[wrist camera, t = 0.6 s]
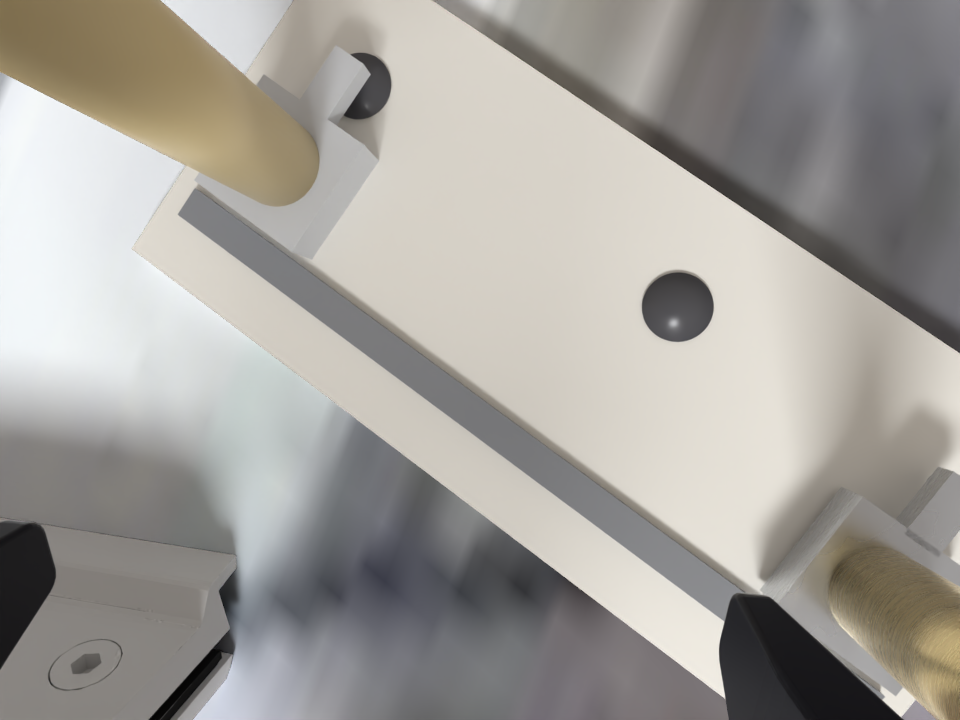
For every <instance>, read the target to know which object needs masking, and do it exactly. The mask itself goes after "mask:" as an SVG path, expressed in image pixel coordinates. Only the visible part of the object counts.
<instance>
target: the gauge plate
mask: <svg viewBox="0 0 960 720" xmlns="http://www.w3.org/2000/svg"><path fill="white" fill-rule="evenodd" d="M0 72H2V73H4V74H6V75H8V76H10V77H12V78H14V79H16V80H18V81H20V82H21V83H23V84H25V85H27V86H29V87H31V88H33V89H35V90H37V91H39V92H41V93H43V94H45V95H47V96H49V97H51V98H53V99H55V100H57V101H59V102H61V103H63V104H65V105H67V106H69V107H71V108H73V109H75V110H77V111H79V112H81V113H83V114H85V115H87V116H89V117H91V118H93V119H95V120H97V121H99V122H101V123H103V124H105V125H107V126H109V127H111V128H113V129H115V130H117V131H119V132H120V133H122V134H124V135H126V136H128V137H130V138H132V139H134V140H136V141H138V142H140V143H142V144H144V145H146V146H148V147H150V148H152V149H154V150H156V151H158V152H160V153H162V154H164V155H166V156H168V157H170V158H172V159H174V160H176V161H178V162H180V163H182V164H184V165H186V166H185V168H184V169H183V171H182V172H181V174H180V175H179V177H178V178H177V180H176V181H175V183H174V184H173V186H172V188H171V189H170V191H169V192H168V194H167V195H166V197H165V198H164V200H163V201H162V203H161V204H160V206H159V207H158V209H157V211H156V212H155V214H154V215H153V217H152V218H151V220H150V221H149V223H148V224H147V226H146V227H145V229H144V230H143V232H142V234H141V235H140V237H139V238H138V240H137V241H136V243H135V244H134V246H133V247H132V250H134V251H135V252H136V253H138V254H139V255H140V256H142V257H143V258H144V259H146V260H147V261H148V262H150V263H151V264H152V265H154V266H155V267H156V268H157V269H159V270H160V271H161V272H163V273H164V274H165V275H167V276H168V277H169V278H171V279H172V280H173V281H175V282H176V283H177V284H179V285H180V286H181V287H183V288H184V289H185V290H187V291H188V292H189V293H190V294H192V295H193V296H194V297H196V298H197V299H198V300H200V301H201V302H202V303H204V304H205V305H206V306H208V307H209V308H210V309H212V310H213V311H214V312H216V313H217V314H218V315H220V316H221V317H222V318H223V319H225V320H226V321H227V322H229V323H230V324H231V325H233V326H234V327H235V328H237V329H238V330H239V331H241V332H242V333H243V334H245V335H246V336H247V337H249V338H250V339H251V340H253V341H254V342H255V343H256V344H258V345H259V346H260V347H262V348H263V349H264V350H266V351H267V352H268V353H270V354H271V355H272V356H274V357H275V358H276V359H278V360H279V361H280V362H282V363H283V364H284V365H286V366H287V367H288V368H289V369H291V370H292V371H293V372H295V373H296V374H297V375H299V376H300V377H301V378H303V379H304V380H305V381H307V382H308V383H309V384H311V385H312V386H313V387H315V388H316V389H317V390H319V391H320V392H321V393H322V394H324V395H325V396H326V397H328V398H329V399H330V400H332V401H333V402H334V403H336V404H337V405H338V406H340V407H341V408H342V409H344V410H345V411H346V412H348V413H349V414H350V415H351V416H353V417H354V418H355V419H357V420H358V421H359V422H361V423H362V424H363V425H365V426H366V427H367V428H369V429H370V430H371V431H373V432H374V433H375V434H377V435H378V436H379V437H381V438H382V439H383V440H384V441H386V442H387V443H388V444H390V445H391V446H392V447H394V448H395V449H396V450H398V451H399V452H400V453H402V454H403V455H404V456H406V457H407V458H408V459H410V460H411V461H412V462H414V463H415V464H416V465H417V466H419V467H420V468H421V469H423V470H424V471H425V472H427V473H428V474H429V475H431V476H432V477H433V478H435V479H436V480H437V481H439V482H440V483H441V484H443V485H444V486H445V487H447V488H448V489H449V490H450V491H452V492H453V493H454V494H456V495H457V496H458V497H460V498H461V499H462V500H464V501H465V502H466V503H468V504H469V505H470V506H472V507H473V508H474V509H476V510H477V511H478V512H480V513H481V514H482V515H483V516H485V517H486V518H487V519H489V520H490V521H491V522H493V523H494V524H495V525H497V526H498V527H499V528H501V529H502V530H503V531H505V532H506V533H507V534H509V535H510V536H511V537H513V538H514V539H515V540H516V541H518V542H519V543H520V544H522V545H523V546H524V547H526V548H527V549H528V550H530V551H531V552H532V553H534V554H535V555H536V556H538V557H539V558H540V559H542V560H543V561H544V562H545V563H547V564H548V565H549V566H551V567H552V568H553V569H555V570H556V571H557V572H559V573H560V574H561V575H563V576H564V577H565V578H567V579H568V580H569V581H571V582H572V583H573V584H575V585H576V586H577V587H578V588H580V589H581V590H582V591H584V592H585V593H586V594H588V595H589V596H590V597H592V598H593V599H594V600H596V601H597V602H598V603H600V604H601V605H602V606H604V607H605V608H606V609H608V610H609V611H610V612H611V613H613V614H614V615H615V616H617V617H618V618H619V619H621V620H622V621H623V622H625V623H626V624H627V625H629V626H630V627H631V628H633V629H634V630H635V631H637V632H638V633H639V634H641V635H642V636H643V637H644V638H646V639H647V640H648V641H650V642H651V643H652V644H654V645H655V646H656V647H658V648H659V649H660V650H662V651H663V652H664V653H666V654H667V655H668V656H670V657H671V658H672V659H674V660H675V661H676V662H677V663H679V664H680V665H681V666H683V667H684V668H685V669H687V670H688V671H689V672H691V673H692V674H693V675H695V676H696V677H697V678H699V679H700V680H701V681H703V682H704V683H705V684H707V685H708V686H709V687H710V688H712V689H713V690H714V691H716V692H717V693H718V694H720V695H721V696H722V697H724V698H725V693H724V687H723V681H722V675H721V669H720V662H719V643H720V638H721V634H722V630H723V626H724V621H725V617H726V613H727V609H728V605H729V601H730V599H731V597H732V596H733V595H734V594H735V593H739V592H740V593H750V594H760V595H764V594H763V593H762V592H761V591H760V589H761V588H762V586H763V585H764V584H765V583H766V581H767V580H768V579H769V578H770V576H771V575H772V574H773V572H774V571H775V570H776V569H777V567H778V566H779V565H780V564H781V562H782V561H783V560H784V559H785V557H786V556H787V555H788V553H789V552H790V551H791V550H792V548H793V547H794V546H795V545H796V543H797V542H798V541H799V540H800V538H801V537H802V536H803V534H804V533H805V532H806V531H807V529H808V528H809V527H810V526H811V524H812V523H813V522H814V521H815V519H816V518H817V517H818V516H819V514H820V513H821V512H822V510H823V509H824V508H825V507H826V505H827V504H828V503H829V502H830V500H831V499H832V498H833V497H834V495H835V494H836V493H837V491H838V490H839V489H840V488H841V487H843V488H845V489H848V490H850V491H852V492H854V493H856V494H858V495H860V496H862V497H864V498H865V499H867V500H868V501H870V502H871V503H873V504H874V505H875V506H877V507H878V508H880V509H881V510H883V511H884V512H885V513H887V514H888V515H890V516H891V517H892V518H894V519H895V520H896V518H897V517H898V516H899V515H900V514H901V512H902V511H903V510H904V509H905V507H906V506H907V505H908V504H909V502H910V501H911V500H912V499H913V497H914V496H915V495H916V494H917V492H918V491H919V490H920V489H921V487H922V486H923V485H924V484H925V482H926V480H927V479H928V478H929V477H930V476H931V475H932V474H933V472H934V471H935V470H936V469H937V467H941V468H944V469H948V470H951V471H954V472H955V473H957V474H958V475H960V353H958V352H957V351H955V350H954V349H952V348H951V347H949V346H948V345H946V344H945V343H943V342H942V341H940V340H939V339H937V338H936V337H934V336H933V335H931V334H930V333H928V332H927V331H925V330H924V329H922V328H921V327H919V326H918V325H916V324H915V323H913V322H912V321H910V320H909V319H908V318H906V317H905V316H903V315H902V314H900V313H899V312H897V311H896V310H894V309H893V308H891V307H890V306H888V305H887V304H885V303H884V302H882V301H881V300H879V299H878V298H876V297H875V296H873V295H872V294H870V293H869V292H867V291H866V290H864V289H863V288H861V287H860V286H858V285H857V284H855V283H854V282H852V281H851V280H849V279H848V278H846V277H845V276H843V275H842V274H840V273H839V272H837V271H836V270H834V269H833V268H831V267H830V266H828V265H827V264H825V263H824V262H822V261H821V260H819V259H818V258H816V257H815V256H813V255H812V254H810V253H809V252H807V251H806V250H804V249H803V248H801V247H800V246H798V245H797V244H795V243H794V242H793V241H791V240H790V239H788V238H787V237H785V236H784V235H782V234H781V233H779V232H778V231H776V230H775V229H773V228H772V227H770V226H769V225H767V224H766V223H764V222H763V221H761V220H760V219H758V218H757V217H755V216H754V215H752V214H751V213H749V212H748V211H746V210H745V209H743V208H742V207H740V206H739V205H737V204H736V203H734V202H733V201H731V200H730V199H728V198H727V197H725V196H724V195H722V194H721V193H719V192H718V191H716V190H715V189H713V188H712V187H710V186H709V185H707V184H706V183H704V182H703V181H701V180H700V179H698V178H697V177H695V176H694V175H692V174H691V173H689V172H688V171H686V170H685V169H683V168H682V167H680V166H679V165H677V164H676V163H675V162H673V161H672V160H670V159H669V158H667V157H666V156H664V155H663V154H661V153H660V152H658V151H657V150H655V149H654V148H652V147H651V146H649V145H648V144H646V143H645V142H643V141H642V140H640V139H639V138H637V137H636V136H634V135H633V134H631V133H630V132H628V131H627V130H625V129H624V128H622V127H621V126H619V125H618V124H616V123H615V122H613V121H612V120H610V119H609V118H607V117H606V116H604V115H603V114H601V113H600V112H598V111H597V110H595V109H594V108H592V107H591V106H589V105H588V104H586V103H585V102H583V101H582V100H580V99H579V98H577V97H576V96H574V95H573V94H571V93H570V92H568V91H567V90H565V89H564V88H562V87H561V86H560V85H558V84H557V83H555V82H554V81H552V80H551V79H549V78H548V77H546V76H545V75H543V74H542V73H540V72H539V71H537V70H536V69H534V68H533V67H531V66H530V65H528V64H527V63H525V62H524V61H522V60H521V59H519V58H518V57H516V56H515V55H513V54H512V53H510V52H509V51H507V50H506V49H504V48H503V47H501V46H500V45H498V44H497V43H495V42H494V41H492V40H491V39H489V38H488V37H486V36H485V35H483V34H482V33H480V32H479V31H477V30H476V29H474V28H473V27H471V26H470V25H468V24H467V23H465V22H464V21H462V20H461V19H459V18H458V17H456V16H455V15H453V14H452V13H450V12H449V11H447V10H446V9H445V8H443V7H442V6H440V5H439V4H437V3H436V2H434V1H433V0H293V2H292V4H291V5H290V7H289V8H288V10H287V11H286V13H285V14H284V16H283V17H282V19H281V20H280V22H279V23H278V25H277V27H276V28H275V30H274V31H273V33H272V34H271V36H270V37H269V39H268V40H267V42H266V43H265V45H264V46H263V48H262V50H261V51H260V53H259V54H258V56H257V57H256V59H255V60H254V62H253V63H252V65H251V66H250V68H249V69H248V71H247V73H246V74H245V75H244V74H243V73H242V72H240V71H239V70H238V69H237V68H236V67H235V66H234V65H233V64H231V63H230V62H229V61H228V60H227V59H226V58H225V57H224V56H222V55H221V54H220V53H219V52H218V51H217V50H216V49H215V48H213V47H212V46H211V45H210V44H209V43H208V42H207V41H206V40H204V39H203V38H202V37H201V36H200V35H199V34H198V33H197V32H195V31H194V30H193V29H192V28H191V27H190V26H189V25H188V24H186V23H185V22H184V21H183V20H182V19H181V18H180V17H179V16H177V15H176V14H175V13H174V12H173V11H172V10H171V9H170V8H168V7H167V6H166V5H165V4H164V3H163V2H162V1H161V0H0ZM942 553H943V554H945V555H946V556H948V557H949V558H951V559H952V560H953V561H955V562H956V563H958V564H959V565H960V531H959V532H958V533H957V535H956V536H955V537H954V538H953V540H952V541H951V542H950V543H949V544H948V546H947V547H946V548H945V549H944V551H943V552H942ZM811 635H812V634H811ZM812 636H813V635H812ZM813 637H814V636H813ZM815 638H816V637H815ZM816 639H817V638H816ZM817 640H818V641H819V642H820V643H821V644H822V645H823V646H824V647H825V648H826V649H828V650H829V651H830V652H831V653H832V654H833V655H834V656H835V657H836V658H837V659H838V660H839V661H841V662H842V663H843V664H844V665H845V666H846V667H847V668H848V669H849V670H850V671H851V672H853V673H854V674H855V675H856V676H857V677H858V678H859V679H860V680H861V681H862V682H863V683H864V684H866V685H867V686H868V687H869V688H870V689H871V690H872V691H873V692H874V693H875V694H876V695H877V696H879V697H880V698H881V699H882V700H883V701H884V702H885V703H886V704H887V705H888V706H889V707H890V708H892V709H893V710H894V711H895V712H896V713H897V714H898V715H899V716H900V717H902V715H903V714H904V713H905V712H906V711H907V709H908V708H909V707H910V706H911V705H912V703H913V702H914V701H915V700H916V699H915V698H914V697H913V696H912V695H911V694H910V693H909V692H908V691H907V690H906V689H904V688H902V690H901V691H900V692H899V693H898V694H897V696H895V695H893V694H892V693H891V692H889V691H888V690H887V689H885V688H884V687H882V686H881V685H880V684H878V683H877V682H876V681H874V680H873V679H872V678H870V677H869V676H867V675H866V674H865V673H863V672H862V671H861V670H859V669H858V668H857V667H855V666H854V665H853V664H851V663H850V662H848V661H847V660H846V659H844V658H843V657H842V656H840V655H839V654H838V653H836V652H835V651H833V650H832V649H831V648H829V647H828V646H827V645H825V644H824V643H823V642H821V641H820V640H819V639H817Z"/></svg>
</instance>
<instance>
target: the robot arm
mask: <svg viewBox="0 0 960 720" xmlns="http://www.w3.org/2000/svg"><path fill="white" fill-rule="evenodd" d="M55 580H56V567H55V564H54V560H53V557H52V553H51V550H50V546H49V543H48V539H47V535H46V532H45V530H44V528H43V527H42V526H41V525H40V524H38V523H36V522H29V521H19V520H6V521H2V522H0V669H1V668H2V666H3V665H4V663H5V662H6V660H7V659H8V657H9V656H10V654H11V652H12V651H13V649H14V648H15V646H16V645H17V643H18V642H19V640H20V638H21V637H22V635H23V634H24V632H25V631H26V629H27V628H28V626H29V625H30V623H31V621H32V620H33V618H34V617H35V615H36V614H37V612H38V611H39V609H40V608H41V606H42V604H43V603H44V601H45V600H46V598H47V597H48V595H49V594H50V592H51V590H52V588H53V586H54V583H55ZM719 662H720V669H721V675H722V681H723V687H724V693H725V699H726V705H727V711H728V717H729V720H904V719H902V718H901V717H900V716H899V715H898V714H897V713H896V712H895V711H894V710H893V709H892V708H890V707H889V706H888V705H887V704H886V703H885V702H884V701H883V700H882V699H881V698H880V697H879V696H877V695H876V694H875V693H874V692H873V691H872V690H871V689H870V688H869V687H868V686H867V685H866V684H864V683H863V682H862V681H861V680H860V679H859V678H858V677H857V676H856V675H855V674H854V673H853V672H851V671H850V670H849V669H848V668H847V667H846V666H845V665H844V664H843V663H842V662H841V661H839V660H838V659H837V658H836V657H835V656H834V655H833V654H832V653H831V652H830V651H829V650H828V649H826V648H825V647H824V646H823V645H822V644H821V643H820V642H819V641H818V640H817V639H816V638H815V637H813V636H812V635H811V634H810V633H809V632H808V631H807V630H806V629H805V628H804V627H803V626H802V625H800V624H799V623H798V622H797V621H796V620H795V619H794V618H793V617H792V616H791V615H790V614H788V613H787V612H786V611H785V610H784V609H783V608H782V607H781V606H780V605H779V604H778V603H777V602H775V601H774V600H773V599H772V598H770V597H769V596H766V595H760V594H750V593H740V592H739V593H735V594H734V595H733V596H732V597H731V599H730V601H729V605H728V609H727V613H726V617H725V621H724V626H723V630H722V634H721V638H720V643H719Z"/></svg>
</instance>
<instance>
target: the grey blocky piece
mask: <svg viewBox="0 0 960 720" xmlns="http://www.w3.org/2000/svg"><path fill="white" fill-rule="evenodd" d="M6 520H12V519H6V518H0V522H2V521H6ZM40 525H41V526H42V527H43V528H44V530H45V532H46V535H47V539H48V543H49V546H50V550H51V553H52V557H53V560H54V564H55V567H56V580H55V583H54V586H53V588H52V590H51V592H50V594H49V595H48V597H47V598H46V600H45V601H44V603H43V604H42V606H41V608H40V609H39V611H38V612H37V614H36V615H35V617H34V618H33V620H32V621H31V623H30V625H29V626H28V628H27V629H26V631H25V632H24V634H23V635H22V637H21V638H20V640H19V642H18V643H17V645H16V646H15V648H14V649H13V651H12V652H11V654H10V656H9V657H8V659H7V660H6V662H5V663H4V665H3V666H2V668H1V669H0V720H193V719H194V718H195V716H196V715H197V714H198V713H199V712H200V710H201V709H202V708H203V707H204V706H205V704H206V703H207V702H208V701H209V699H210V698H211V697H212V696H213V695H214V693H215V692H216V691H217V690H218V689H219V687H220V686H221V685H222V684H223V682H224V681H225V680H226V679H227V676H228V673H229V671H230V668H231V662H232V656H233V654H228V653H223V652H221V650H218V649H213V648H214V647H215V646H216V645H217V644H218V643H219V642H220V639H221V638H222V637H223V636H224V635H225V634H226V633H227V631H228V630H229V629H230V627H229V623H228V620H227V617H226V614H225V610H224V607H223V604H222V601H221V598H220V594H219V590H220V588H221V587H222V586H223V584H224V583H225V582H226V581H227V579H228V578H229V577H230V575H231V574H232V573H233V572H234V570H235V569H236V568H237V563H236V555H232V554H226V553H219V552H213V551H207V550H201V549H194V548H188V547H182V546H176V545H169V544H163V543H157V542H150V541H144V540H138V539H132V538H125V537H119V536H113V535H106V534H100V533H94V532H88V531H81V530H75V529H69V528H63V527H56V526H50V525H44V524H40Z"/></svg>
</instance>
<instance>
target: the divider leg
mask: <svg viewBox="0 0 960 720" xmlns="http://www.w3.org/2000/svg"><path fill="white" fill-rule="evenodd" d="M959 531H960V475H958V474H957V473H955V472H954V471H951V470H948V469H944V468H941V467H937V469H936V470H935V471H934V472H933V474H932V475H931V476H930V477H929V478H928V479H927V480H926V482H925V484H924V485H923V486H922V487H921V489H920V490H919V491H918V492H917V494H916V495H915V496H914V497H913V499H912V500H911V501H910V502H909V504H908V505H907V506H906V507H905V509H904V510H903V511H902V512H901V514H900V515H899V516H898V517H897V518H896V520H895V519H894V518H892V517H891V516H890V515H888V514H887V513H885V512H884V511H883V510H881V509H880V508H878V507H877V506H875V505H874V504H873V503H871V502H870V501H868V500H867V499H865V498H864V497H862V496H860V495H858V494H856V493H854V492H852V491H850V490H848V489H845V488H843V487H841V488H840V489H839V490H838V491H837V493H836V494H835V495H834V497H833V498H832V499H831V500H830V502H829V503H828V504H827V505H826V507H825V508H824V509H823V510H822V512H821V513H820V514H819V516H818V517H817V518H816V519H815V521H814V522H813V523H812V524H811V526H810V527H809V528H808V529H807V531H806V532H805V533H804V534H803V536H802V537H801V538H800V540H799V541H798V542H797V543H796V545H795V546H794V547H793V548H792V550H791V551H790V552H789V553H788V555H787V556H786V557H785V559H784V560H783V561H782V562H781V564H780V565H779V566H778V567H777V569H776V570H775V571H774V572H773V574H772V575H771V576H770V578H769V579H768V580H767V581H766V583H765V584H764V585H763V586H762V588H761V589H760V591H761V592H762V593H763V594H764V595H766V596H769V597H770V598H772V599H773V600H774V601H775V602H777V603H778V604H779V605H780V606H781V607H782V608H783V609H784V610H785V611H786V612H787V613H788V614H790V615H791V616H792V617H793V618H794V619H795V620H796V621H797V622H798V623H799V624H800V625H802V626H803V627H804V628H805V629H806V630H807V631H808V632H809V633H810V634H812V635H813V636H814V637H816V638H817V639H819V640H820V641H821V642H823V643H824V644H825V645H827V646H828V647H829V648H831V649H832V650H833V651H835V652H836V653H838V654H839V655H840V656H842V657H843V658H844V659H846V660H847V661H848V662H850V663H851V664H853V665H854V666H855V667H857V668H858V669H859V670H861V671H862V672H863V673H865V674H866V675H867V676H869V677H870V678H872V679H873V680H874V681H876V682H877V683H878V684H880V685H881V686H882V687H884V688H885V689H887V690H888V691H889V692H891V693H892V694H893V695H895V696H897V694H898V693H899V692H900V691H901V690H902V688H904V689H906V690H907V691H908V692H909V693H910V694H911V695H912V696H913V697H914V698H915V699H916V700H917V701H918V702H919V703H920V704H921V705H922V706H923V707H924V708H925V709H926V710H927V711H928V712H929V713H930V714H931V715H932V716H933V717H934V718H936V719H937V720H960V565H959V564H958V563H956V562H955V561H953V560H952V559H951V558H949V557H948V556H946V555H945V554H943V553H942V552H943V551H944V549H945V548H946V547H947V546H948V544H949V543H950V542H951V541H952V540H953V538H954V537H955V536H956V535H957V533H958V532H959Z"/></svg>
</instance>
